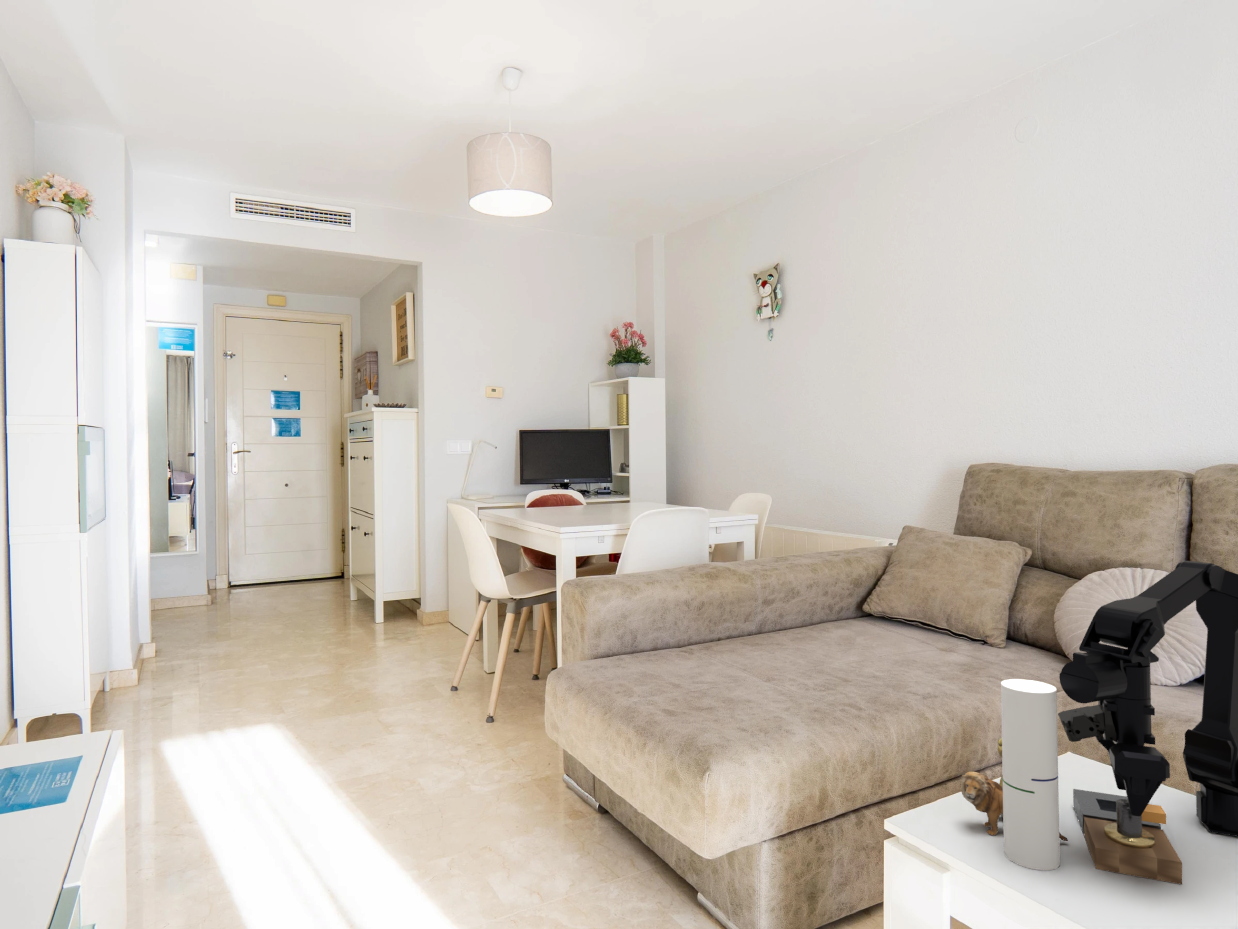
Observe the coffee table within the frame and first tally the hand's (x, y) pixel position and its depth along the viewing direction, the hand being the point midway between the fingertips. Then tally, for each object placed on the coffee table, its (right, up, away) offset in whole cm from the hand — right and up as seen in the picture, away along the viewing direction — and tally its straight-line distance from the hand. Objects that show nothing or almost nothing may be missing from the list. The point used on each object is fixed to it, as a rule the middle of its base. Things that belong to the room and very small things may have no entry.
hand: (1128, 802), depth 106 cm
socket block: (+5, -8, +10) cm, 14 cm away
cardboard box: (+6, -4, +4) cm, 8 cm away
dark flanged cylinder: (0, -8, 0) cm, 8 cm away
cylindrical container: (-14, -9, +1) cm, 16 cm away
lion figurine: (-13, -9, +7) cm, 18 cm away
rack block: (0, -8, 0) cm, 8 cm away
